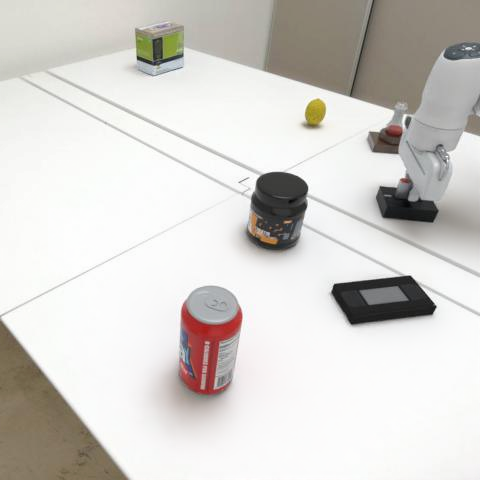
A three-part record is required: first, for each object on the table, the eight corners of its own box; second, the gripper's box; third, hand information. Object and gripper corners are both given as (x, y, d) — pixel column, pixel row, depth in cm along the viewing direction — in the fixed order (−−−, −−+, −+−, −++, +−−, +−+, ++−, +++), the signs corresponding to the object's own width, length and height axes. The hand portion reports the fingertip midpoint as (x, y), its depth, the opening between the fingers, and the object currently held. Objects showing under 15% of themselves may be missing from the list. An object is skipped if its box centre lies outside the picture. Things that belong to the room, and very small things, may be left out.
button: (399, 131, 120) (401, 125, 119) (402, 137, 117) (404, 131, 116) (384, 130, 120) (386, 124, 119) (387, 136, 118) (389, 130, 117)
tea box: (166, 61, 177) (166, 19, 168) (184, 67, 171) (185, 25, 162) (136, 69, 169) (134, 26, 160) (153, 76, 163) (152, 32, 154)
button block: (405, 141, 123) (410, 127, 121) (412, 155, 117) (418, 141, 115) (366, 138, 125) (371, 124, 122) (372, 152, 119) (376, 138, 116)
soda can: (224, 406, 62) (235, 335, 53) (170, 387, 65) (172, 316, 55) (238, 361, 68) (250, 290, 59) (188, 346, 70) (192, 275, 61)
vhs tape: (330, 292, 79) (333, 283, 78) (406, 283, 81) (410, 275, 80) (351, 324, 74) (354, 316, 72) (432, 314, 75) (437, 306, 74)
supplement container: (235, 233, 92) (241, 182, 85) (268, 213, 97) (277, 164, 90) (276, 259, 86) (287, 207, 78) (310, 237, 91) (323, 185, 84)
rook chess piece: (389, 126, 131) (398, 99, 126) (404, 131, 128) (414, 104, 123) (381, 130, 129) (390, 103, 124) (396, 136, 126) (406, 108, 121)
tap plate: (423, 201, 101) (428, 189, 99) (433, 222, 95) (439, 210, 93) (375, 197, 102) (380, 185, 100) (382, 218, 96) (387, 205, 94)
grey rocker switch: (421, 197, 97) (428, 179, 94) (423, 201, 96) (430, 183, 93) (393, 194, 98) (400, 177, 95) (395, 198, 96) (402, 181, 94)
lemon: (301, 128, 130) (307, 100, 125) (303, 120, 134) (309, 93, 129) (321, 130, 129) (328, 103, 124) (323, 122, 133) (329, 96, 128)
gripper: (470, 161, 79) (439, 225, 88) (436, 114, 95) (413, 172, 103) (431, 158, 80) (405, 222, 89) (404, 111, 96) (383, 169, 104)
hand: (409, 194), depth 96 cm, fingers closed
